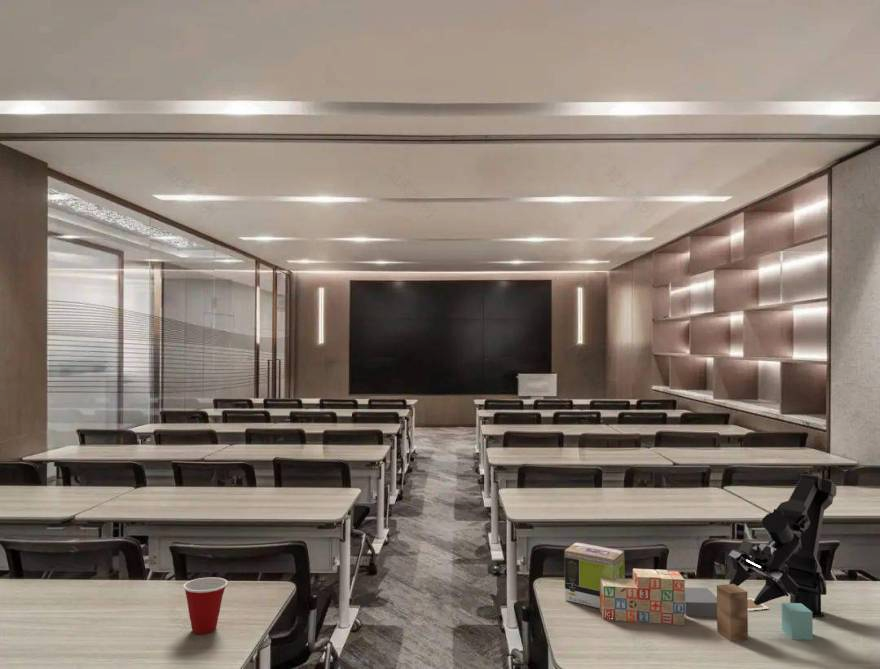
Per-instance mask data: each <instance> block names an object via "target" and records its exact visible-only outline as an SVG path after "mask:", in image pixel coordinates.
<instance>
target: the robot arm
mask: <svg viewBox="0 0 880 669" xmlns="http://www.w3.org/2000/svg"><path fill="white" fill-rule="evenodd" d="M797 481H798V482H797V484H796V486H795V488H794V489H793V491H792V493H791V495H790V497H789V499H788V500H787V501H782V502H781V503H779V505H778V506H777V507H776V508H774V509H773V511H772V512H770V513H767V514H766V515H765V516H764V517H763V518H762V520H761V522H762V526H763V528H764V530H765V531H766V533H767V536H768V537H769V539H770V540H769V541H768V542H767V543H760V544H759V545H757V544H755V543H753V542H751V541H749V540H746V539H744V538H742V540H741V544H740V546H739V547H738V548H739V549H732V550H731V551H730V553H729V554H728V557H729V558H730V561H731V563H732V566H733V568H732V574H731V577H730V580H729V583H728V584H735V585H736V586H738V587H740V585H741V584H743V583H744V582H745V581H746V580H748V579H750V577H751V576H752V574H753V573H754V572H756V573H758V574H760V575H761V576H764V577H765V584H764V585H763V587H762V588H761V590H760V591H759V593H758V594H757V595H756V597H755V598H754V599H755V600H754V603H755V604H756V605H760V604H764V603H767V602H769V601H772V600H775V599H779V598H782V597H787V598H788V597H790V599H789V600H790V601H789V603H801V604H803V605H804V606H805V607H807V608H808V609H809V610H810V611H812V617H825V616H826V615H825V613H823V612H822V596H826V595H827V583H826V580H825V577H824V574H823V573H822V572H823V571H822V567H821V565H820V563H819V562H818V558H817V556H818V551H819V544H820V541H821V540H820V539H821V533H822V527H823V520H824V514H825V510H826V509H828V508H829V507H830V506H831V505H832V504H833V501H834V497H837V496H836V495H837V485H836V484H835V483H834V482H833V481H832V479H826V478H822V477H821V476H819V475H815V474H807V473H802V474H799V475H798V480H797ZM796 533H800V537H799V536H798V535H797V534H796ZM748 555H749V556H748ZM783 567H785V569H784V571H783V570H782V569H783Z"/></svg>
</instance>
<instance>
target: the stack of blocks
mask: <svg viewBox="0 0 880 669" xmlns="http://www.w3.org/2000/svg"><path fill="white" fill-rule="evenodd" d="M685 588H686V586H685V578H684V577H683V575H681V573H680V572H679V571H677V570H667V569H658V568H657V569H650V568H632V579H631V578H625V579H619V578H617V579H616V580H609V579H604V578H600V608H599V610H601V611H600V614H601V613H602V614H601V617H602V619H603V620H605V619H607V618H608V619H609V618H610V619H611V618H613V619H616V620H615V621H618V620H625V621H624V622H634V621H637V622H639V623H651V624H653V623H656V624H668V625H679V626H681V625H682V626H685V624H686V623H685V620H686V618H685V617H686V615H685V591H684V590H685ZM617 619H618V620H617ZM637 622H636V623H637Z"/></svg>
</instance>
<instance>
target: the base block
mask: <svg viewBox="0 0 880 669" xmlns="http://www.w3.org/2000/svg"><path fill="white" fill-rule="evenodd" d="M684 591H685V617H687V616H688V617H689V616H692V617H693V616H694V617H697V616H698V617H717V595H715V594H714V593H713V592H712V591H711V590H710V589H709V588H708V587H685V590H684Z"/></svg>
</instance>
